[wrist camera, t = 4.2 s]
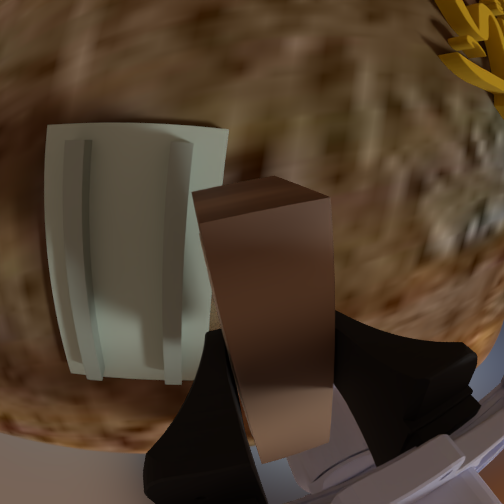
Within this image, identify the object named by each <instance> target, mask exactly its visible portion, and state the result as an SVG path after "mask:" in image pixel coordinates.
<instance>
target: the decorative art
mask: <svg viewBox="0 0 504 504" xmlns="http://www.w3.org/2000/svg"><path fill="white" fill-rule="evenodd" d="M434 1H435V2H436V4H437V6H438V8H439V10H440V11H441V13H442V15H443V16H444V18H445V19H446V21H447V22H448V24H449V25H450V26H451V28H452V29H453V30H454V31H455V32H456V33H457V34H458V35H459V37H453V38H449V39H448V43H449V45H450V46H451V47H452V48H453V49H454V50H456V51H458V50H462V51H463V52H464V53H465V54H466V56H467V57H468V58H476V57H486V54H485V52H484V50H483V49H482V47H481V46H480V45H479V44H478V42H477V41H484V42H485V46H486V50H487V54H488V58H489V63H490V68H491V73H490V72H489V71H487V70H485V69H483V68H481V67H479V66H478V65H476V64H474V63H473V62H471V61H470V60H468V59H467V58H465V57H464V56H462V55H461V54H459V53H458V52H454V53H448V54H442V55H438V57H439V58H440V59H441V61H442V62H443V63H444V64H445V65H446V66H447V67H448V68H449V69H450V70H451V71H452V72H453V73H454V74H455V75H457V76H458V77H459V78H461V79H462V80H464V81H465V82H468V83H470V84H472V85H475V86H477V87H479V88H481V89H484V90H486V91H488V92H490V93H492V94H494V106H495V108H496V109H497V111H498V112H499V114H500V115H501V117H502V118H503V119H504V0H479V3H477V4H472V5H468V6H465V4H464V3H463V1H462V0H434ZM495 16H497V18H495Z"/></svg>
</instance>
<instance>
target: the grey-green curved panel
mask: <svg viewBox="0 0 504 504" xmlns="http://www.w3.org/2000/svg"><path fill="white" fill-rule="evenodd" d="M228 133H229V130H228V129H219V128H209V127H199V126H187V125H172V124H153V123H73V124H55V125H47V136H46V149H45V169H44V209H45V230H46V244H47V254H48V264H49V272H50V279H51V286H52V292H53V298H54V304H55V310H56V315H57V320H58V324H59V329H60V334H61V338H62V342H63V346H64V350H65V354H66V358H67V361H68V365H69V368H70V372H71V373H74V374H83V375H86V377H87V379H89V380H98V381H102V379H103V377H114V378H128V379H147V380H165V384H167V385H182V380H194V379H195V376H196V373H197V370H198V367H199V364H200V360H201V356H202V352H203V347H204V340H205V334H206V332H209V320H210V307H211V294H212V289H211V285H210V281H209V276H208V272H207V268H206V264H205V259H204V255H203V250H202V246H201V241H200V237H199V233H200V232H199V227H198V222H197V217H196V213H195V208H194V203H193V198H192V193H191V192H193V191H198V190H202V189H207V188H212V187H217V186H222V182H223V173H224V165H225V157H226V149H227V141H228Z"/></svg>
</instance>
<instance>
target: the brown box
mask: <svg viewBox="0 0 504 504" xmlns="http://www.w3.org/2000/svg"><path fill="white" fill-rule="evenodd" d="M191 193H192V198H193V203H194V208H195V213H196V217H197V222H198V227H199V232H200V233H199V237H200V241H201V246H202V250H203V255H204V259H205V264H206V268H207V272H208V276H209V281H210V285H211V289H212V293H213V297H214V301H215V306H216V310H217V314H218V318H219V321H220V325H221V329H222V333H223V337H224V341H225V344H226V348H227V352H228V356H229V359H230V363H231V367H232V370H233V374H234V378H235V381H236V385H237V388H238V392H239V395H240V399H241V402H242V405H243V409H244V412H245V415H246V418H247V422H248V425H249V428H250V431H251V435H252V437H253V438H254V441H255V444H256V447H257V450H258V453H259V456H260V459H261V462H262V464H264V463H268V462H271V461H275V460H278V459H282V458H285V457H288V456H291V455H295V454H298V453H301V452H304V451H307V450H309V449H312V448H315V447H318V446H320V445H323V444H326V443H328V442H329V439H330V428H331V415H332V400H333V381H334V353H335V277H334V248H333V229H332V213H331V199H330V197H328V196H326V195H323V194H321V193H318V192H316V191H313V190H311V189H308V188H306V187H303V186H300V185H298V184H295V183H292V182H290V181H287V180H284V179H282V178H279V177H276V176H270V177H264V178H259V179H253V180H248V181H242V182H237V183H232V184H227V185H222V186H217V187H212V188H207V189H202V190H198V191H193V192H191Z"/></svg>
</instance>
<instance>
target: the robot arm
mask: <svg viewBox="0 0 504 504" xmlns="http://www.w3.org/2000/svg"><path fill="white" fill-rule="evenodd" d="M476 365H477V355H476V353H475V352H473V351H472V350H471V349H470V348H469V347H468V346H466V345H465V344H464V343H463V342H434V341H424V340H417V339H412V338H407V337H402V336H398V335H394V334H391V333H388V332H384V331H381V330H378V329H376V328H373V327H371V326H368V325H366V324H363V323H361V322H359V321H356V320H354V319H352V318H350V317H348V316H346V315H344V314H342V313H340V312H338V311H336V310H335V353H334V381H333V400H332V415H331V428H330V439H329V442H328V443H326V444H323V445H320V446H318V447H315V448H312V449H309V450H307V451H304V452H301V453H298V454H295V455H291V456H288V457H286V458H287V460H288V463H289V466H290V468H291V471H292V473H293V475H294V478H295V480H296V482H297V483H298V485H299V486H300V487H301V488H302V489H304V490H305V491H307V492H309V493H311V494H308V495H306V496H305V497H303V498H300V499H297V500H294V501H291V502H287V503H284V504H502V503H501V502H500V501H499V500H498V498H497V497H496V496H495V494H494V493H493V492H492V491H491V489H490V488H489V487H488V486H487V484H486V483H485V482H484V480H483V479H482V478H481V477H480V475H479V474H478V473H479V472H480V471H481V470H482V469H483V468H484V467H485V466H486V465H487V464H488V463H490V462H491V461H492V460H493V459H494V458H495V457H496V456H497V455H498V454H499V453H500V452H501V451H502V449H504V376H503V378H502V380H501V383H500V384H499V385H498V386H497V387H495V388H494V389H493V390H492V391H491V392H490V393H489V394H487V395H486V396H485V397H484V398H483V399H481V400H480V401H479V402H477V400H475V399H474V397H472V395H471V394H472V392H473V390H472V389H471V388H470V387H469V386H468V384H469V382H470V380H471V378H472V375H473V373H474V371H475V368H476ZM143 482H144V493H145V495H146V496H147V497H148V498H149V499H151V500H152V501H153V502H154V503H155V504H268V501H267V498H266V495H265V493H264V490H263V487H262V484H261V481H260V478H259V475H258V472H257V469H256V466H255V462H254V459H253V456H252V453H251V450H250V447H249V443H248V440H247V437H246V433H245V429H244V424H243V419H242V413H241V408H240V402H239V396H238V391H237V385H236V381H235V378H234V374H233V370H232V367H231V363H230V359H229V356H228V352H227V348H226V344H225V341H224V337H223V333H222V329H217V330H213V331H209V332H206V334H205V340H204V347H203V352H202V356H201V360H200V364H199V367H198V370H197V373H196V376H195V379H194V382H193V384H192V387H191V389H190V391H189V393H188V396H187V398H186V400H185V402H184V403H183V405H182V407H181V409H180V411H179V412H178V414H177V416H176V417H175V419H174V420H173V422H172V423H171V424H170V426H169V427H168V428H167V430H166V431H165V433H164V434H163V435H162V436H161V438H160V439H159V440H158V441H157V442H156V443H155V444H154V446H153V447H152V448H151V449H150V450H149V451H148V452H147V453H146V457H145V462H144V469H143Z"/></svg>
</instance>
